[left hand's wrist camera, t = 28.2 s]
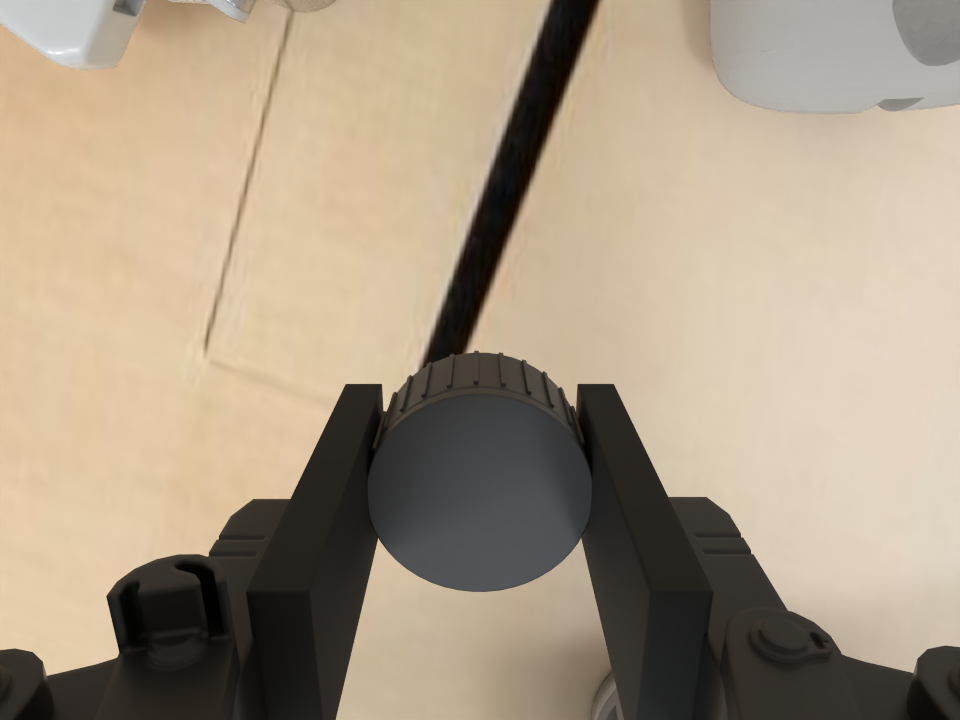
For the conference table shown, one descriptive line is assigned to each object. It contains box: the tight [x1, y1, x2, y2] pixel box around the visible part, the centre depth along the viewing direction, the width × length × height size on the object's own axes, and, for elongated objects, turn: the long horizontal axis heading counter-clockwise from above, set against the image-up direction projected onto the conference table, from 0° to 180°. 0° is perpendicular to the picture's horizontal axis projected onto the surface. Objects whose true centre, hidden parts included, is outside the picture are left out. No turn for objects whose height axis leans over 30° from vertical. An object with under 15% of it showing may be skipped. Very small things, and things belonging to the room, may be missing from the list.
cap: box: [367, 351, 592, 592], centre depth 14 cm, size 4×4×2 cm
